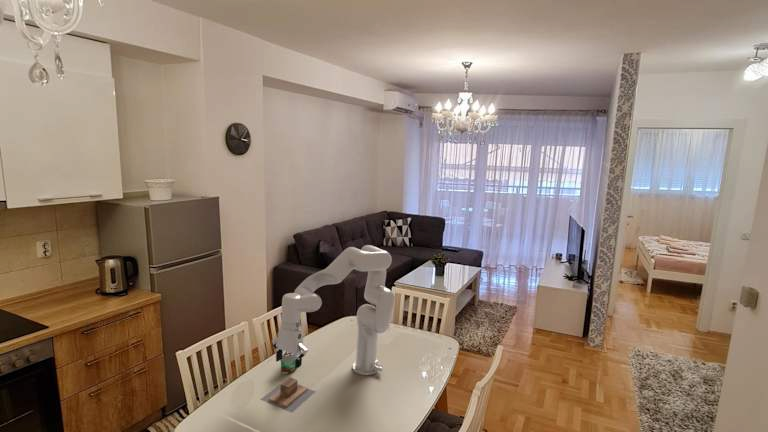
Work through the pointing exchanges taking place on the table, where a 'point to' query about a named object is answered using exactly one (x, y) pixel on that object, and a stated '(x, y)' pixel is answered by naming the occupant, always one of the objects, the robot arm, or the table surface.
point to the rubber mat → (295, 403)
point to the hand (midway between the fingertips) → (288, 363)
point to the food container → (288, 363)
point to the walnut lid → (288, 392)
